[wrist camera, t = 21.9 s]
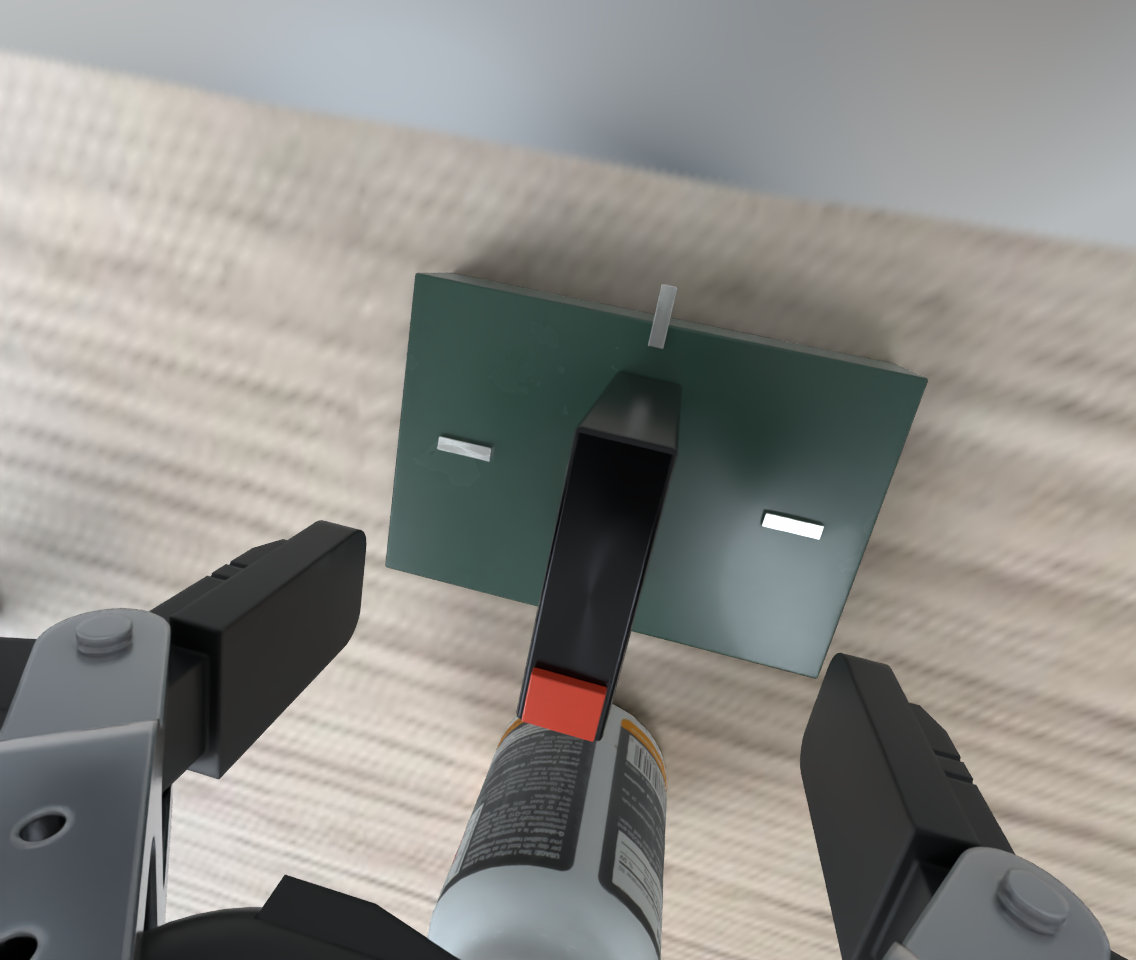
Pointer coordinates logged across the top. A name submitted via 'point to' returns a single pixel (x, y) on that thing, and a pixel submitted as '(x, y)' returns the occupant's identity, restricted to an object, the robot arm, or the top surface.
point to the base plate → (701, 474)
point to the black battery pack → (600, 554)
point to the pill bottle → (561, 850)
